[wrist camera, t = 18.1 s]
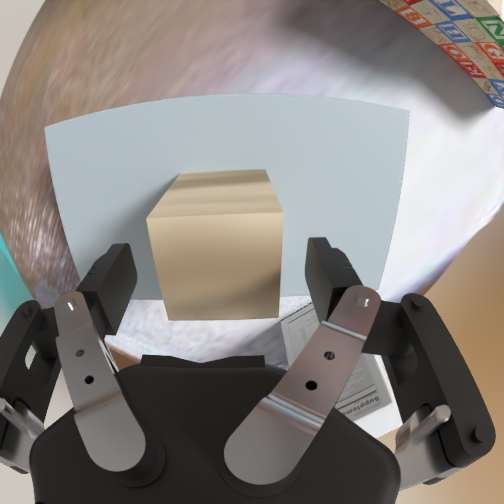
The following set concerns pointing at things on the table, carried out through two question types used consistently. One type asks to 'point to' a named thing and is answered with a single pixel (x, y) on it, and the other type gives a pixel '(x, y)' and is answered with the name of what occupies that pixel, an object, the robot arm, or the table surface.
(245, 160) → the box lid
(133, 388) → the robot arm
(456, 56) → the stack of blocks
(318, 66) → the table surface
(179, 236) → the beech block
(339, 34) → the table surface
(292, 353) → the supplement box
